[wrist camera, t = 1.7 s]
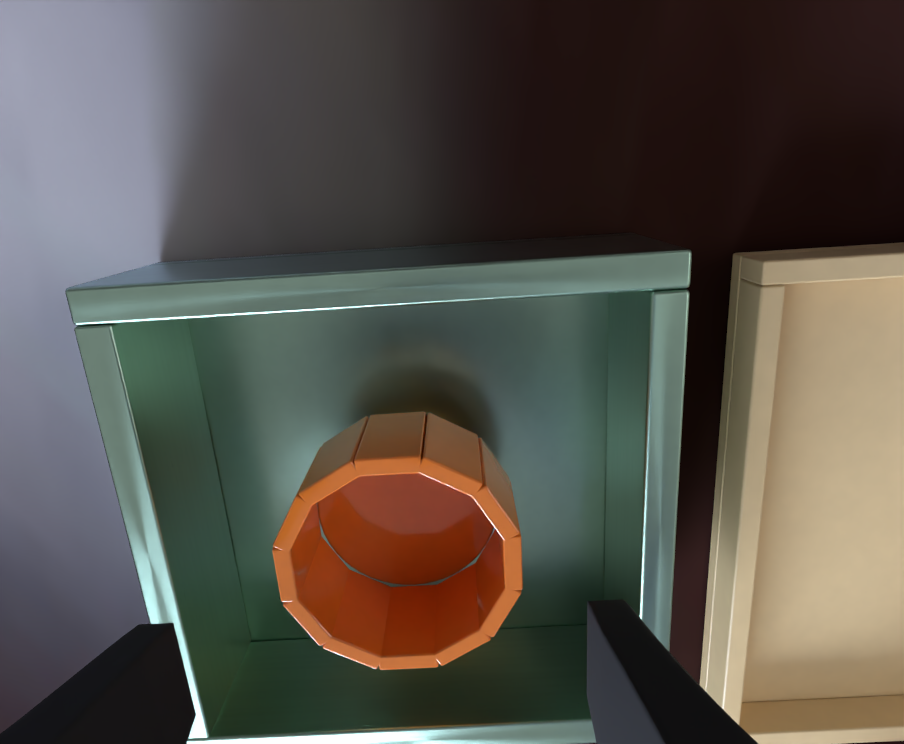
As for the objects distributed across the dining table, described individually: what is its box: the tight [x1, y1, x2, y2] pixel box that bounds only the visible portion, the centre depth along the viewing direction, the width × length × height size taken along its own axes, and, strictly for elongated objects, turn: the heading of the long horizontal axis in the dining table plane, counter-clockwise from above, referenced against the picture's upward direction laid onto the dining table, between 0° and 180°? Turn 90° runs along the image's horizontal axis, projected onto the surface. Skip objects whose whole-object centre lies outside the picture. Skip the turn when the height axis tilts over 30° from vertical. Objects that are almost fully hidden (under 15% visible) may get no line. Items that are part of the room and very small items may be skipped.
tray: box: [700, 242, 904, 744], centre depth 17 cm, size 15×10×2 cm
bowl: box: [272, 412, 523, 670], centre depth 15 cm, size 5×5×4 cm
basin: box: [66, 232, 692, 744], centre depth 16 cm, size 13×13×4 cm
